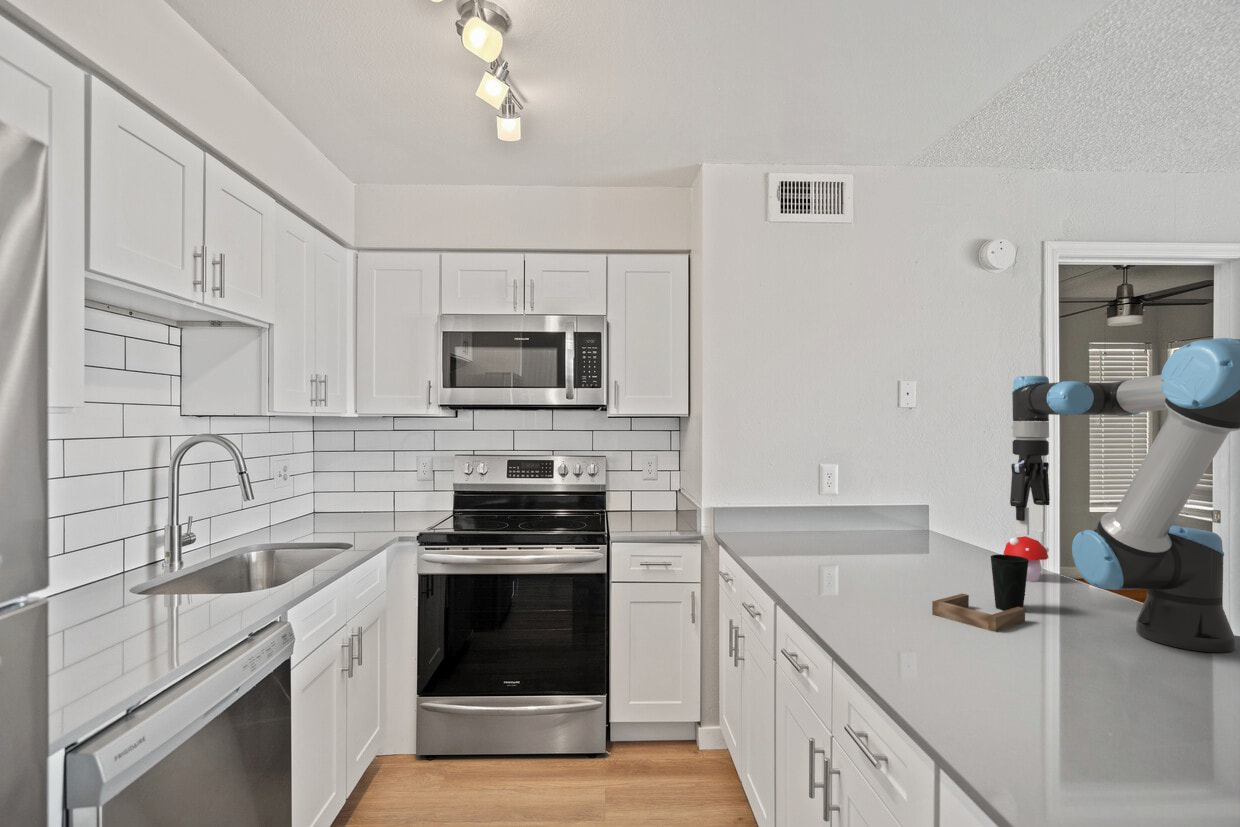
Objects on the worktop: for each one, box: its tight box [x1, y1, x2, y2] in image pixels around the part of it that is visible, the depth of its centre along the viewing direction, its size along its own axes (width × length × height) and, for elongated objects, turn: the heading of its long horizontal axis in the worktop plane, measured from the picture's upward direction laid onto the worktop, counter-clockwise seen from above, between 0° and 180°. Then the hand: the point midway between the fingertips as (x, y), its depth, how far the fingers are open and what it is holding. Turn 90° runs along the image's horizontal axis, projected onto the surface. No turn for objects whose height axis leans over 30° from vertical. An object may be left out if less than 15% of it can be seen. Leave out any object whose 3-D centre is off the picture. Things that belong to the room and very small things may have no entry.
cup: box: [990, 554, 1029, 611], centre depth 152 cm, size 8×8×12 cm
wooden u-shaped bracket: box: [931, 593, 1026, 633], centre depth 145 cm, size 14×12×3 cm
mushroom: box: [1002, 535, 1050, 583], centre depth 181 cm, size 11×11×12 cm
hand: (1030, 532), depth 158 cm, fingers open, 7 cm apart
